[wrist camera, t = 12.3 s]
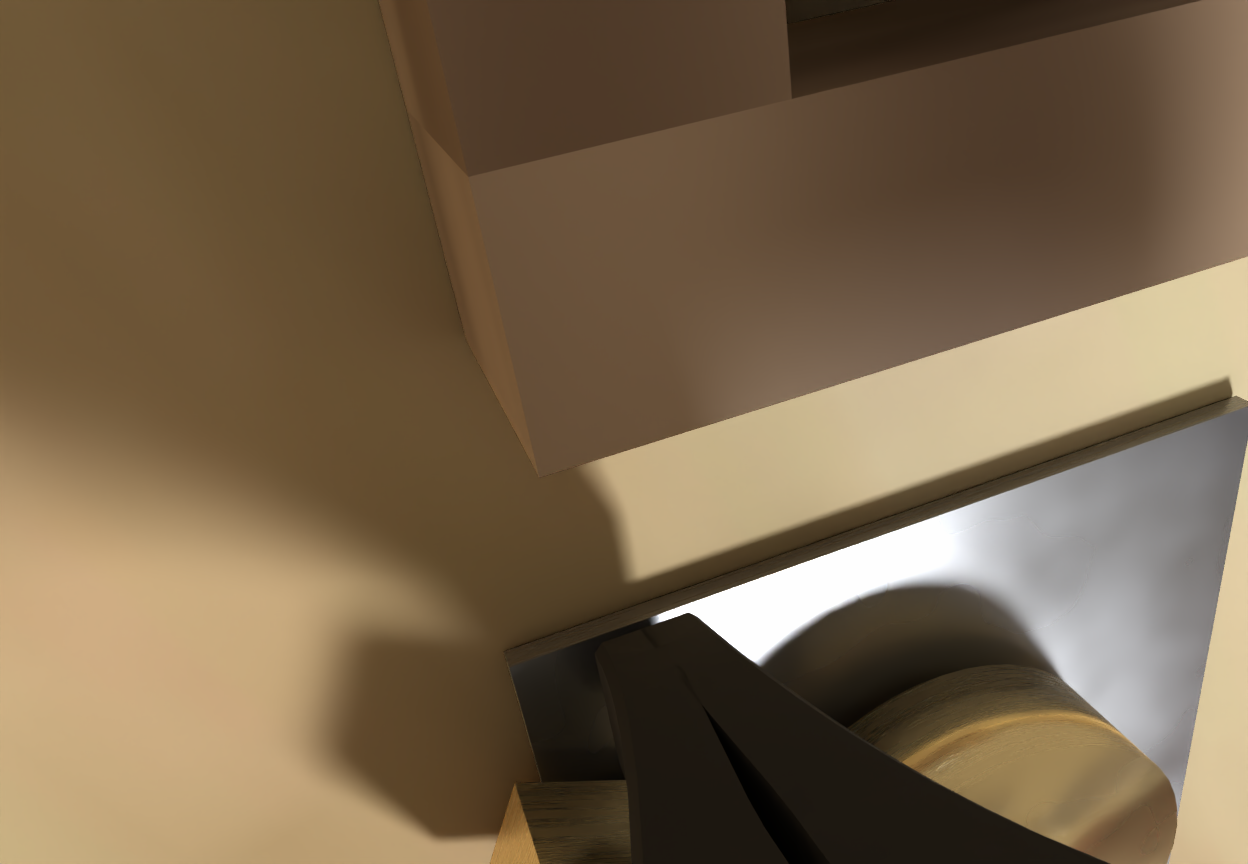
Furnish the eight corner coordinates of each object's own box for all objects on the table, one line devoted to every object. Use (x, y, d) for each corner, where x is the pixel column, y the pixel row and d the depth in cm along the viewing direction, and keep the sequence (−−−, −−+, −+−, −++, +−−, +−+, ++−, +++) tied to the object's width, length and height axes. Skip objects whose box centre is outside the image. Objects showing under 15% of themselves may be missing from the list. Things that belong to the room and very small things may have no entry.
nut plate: (1235, 395, 14) (1253, 404, 14) (1151, 879, 19) (1164, 891, 19) (503, 651, 12) (508, 666, 11) (638, 1119, 17) (644, 1136, 17)
